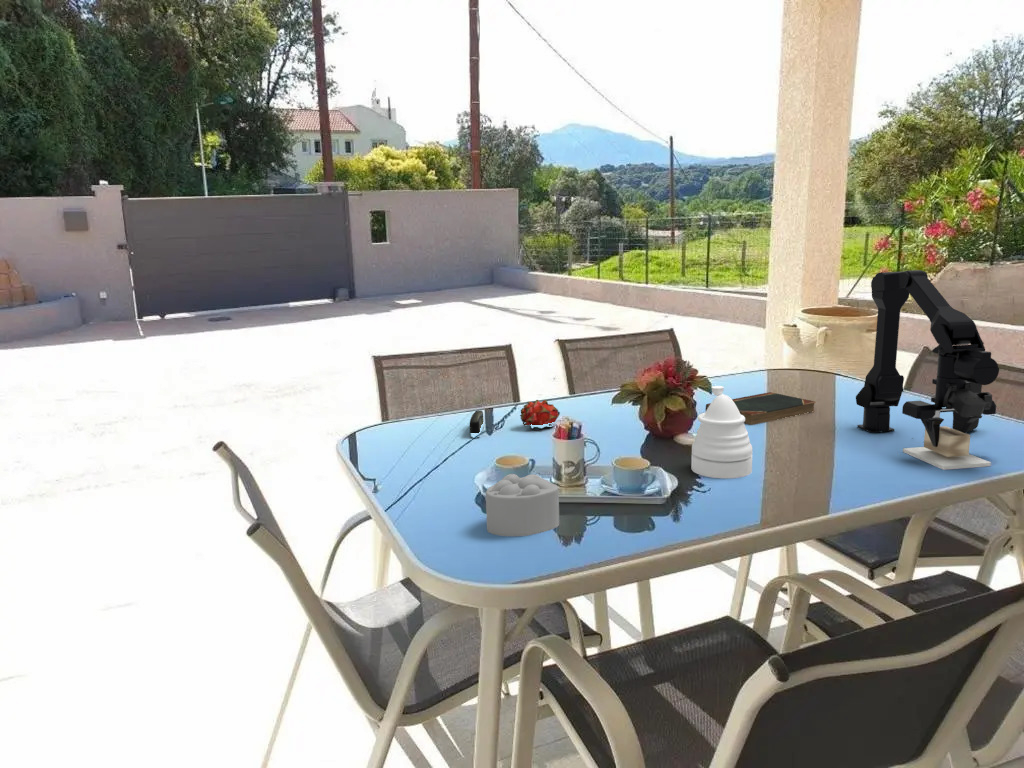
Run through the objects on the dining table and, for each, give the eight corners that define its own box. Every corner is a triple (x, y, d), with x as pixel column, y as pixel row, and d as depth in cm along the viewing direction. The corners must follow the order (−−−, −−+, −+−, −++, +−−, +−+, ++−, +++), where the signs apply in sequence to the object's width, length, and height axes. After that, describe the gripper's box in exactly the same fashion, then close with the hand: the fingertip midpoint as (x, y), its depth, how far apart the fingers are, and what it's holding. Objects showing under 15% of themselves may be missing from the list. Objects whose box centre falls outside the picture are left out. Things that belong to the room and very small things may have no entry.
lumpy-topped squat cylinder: (565, 526, 145) (565, 480, 143) (503, 542, 139) (501, 494, 137) (536, 509, 154) (535, 466, 152) (476, 523, 148) (474, 479, 146)
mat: (902, 451, 183) (903, 448, 183) (946, 448, 184) (947, 445, 184) (943, 469, 169) (943, 466, 169) (990, 466, 171) (991, 462, 171)
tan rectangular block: (947, 456, 172) (949, 436, 171) (923, 446, 180) (925, 427, 179) (968, 455, 173) (970, 434, 172) (944, 445, 181) (945, 425, 180)
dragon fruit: (516, 436, 213) (556, 436, 218) (529, 423, 207) (570, 424, 212) (511, 407, 217) (550, 408, 222) (524, 393, 210) (564, 395, 215)
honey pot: (679, 465, 178) (680, 386, 175) (727, 457, 183) (729, 380, 179) (714, 482, 167) (716, 397, 163) (764, 473, 171) (767, 391, 168)
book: (751, 427, 210) (816, 414, 222) (751, 414, 210) (816, 401, 222) (704, 415, 225) (767, 403, 237) (705, 402, 224) (768, 391, 237)
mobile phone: (480, 421, 205) (484, 406, 220) (468, 421, 205) (473, 407, 220) (480, 440, 206) (484, 424, 221) (469, 440, 206) (474, 424, 221)
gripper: (936, 386, 164) (930, 459, 167) (1018, 380, 167) (1011, 452, 170) (903, 376, 175) (898, 444, 178) (980, 371, 177) (975, 439, 181)
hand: (946, 445), depth 176 cm, fingers closed on tan rectangular block, 5 cm apart
